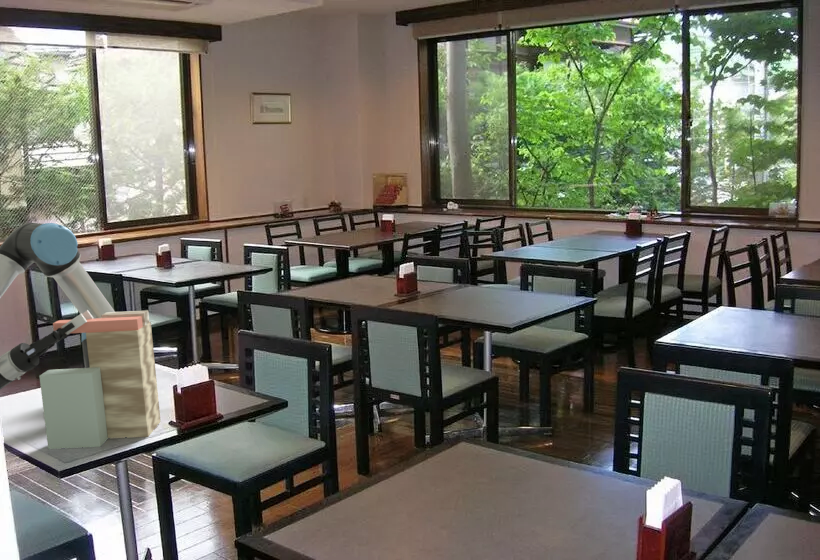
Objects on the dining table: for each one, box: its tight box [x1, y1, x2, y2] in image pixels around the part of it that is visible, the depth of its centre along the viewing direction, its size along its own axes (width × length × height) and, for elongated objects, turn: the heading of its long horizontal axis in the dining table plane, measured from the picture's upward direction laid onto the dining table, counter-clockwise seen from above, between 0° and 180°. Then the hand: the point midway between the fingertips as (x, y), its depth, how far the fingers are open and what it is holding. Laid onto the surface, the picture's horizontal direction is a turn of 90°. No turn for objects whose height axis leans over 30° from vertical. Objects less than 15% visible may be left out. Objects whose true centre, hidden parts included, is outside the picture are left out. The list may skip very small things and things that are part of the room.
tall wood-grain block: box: [86, 309, 162, 439], centre depth 237 cm, size 12×14×34 cm
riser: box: [39, 367, 109, 450], centre depth 229 cm, size 6×14×20 cm, turn 90°
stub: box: [52, 316, 143, 334], centre depth 232 cm, size 4×23×3 cm, turn 90°
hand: (87, 316), depth 232 cm, fingers closed on stub, 4 cm apart
